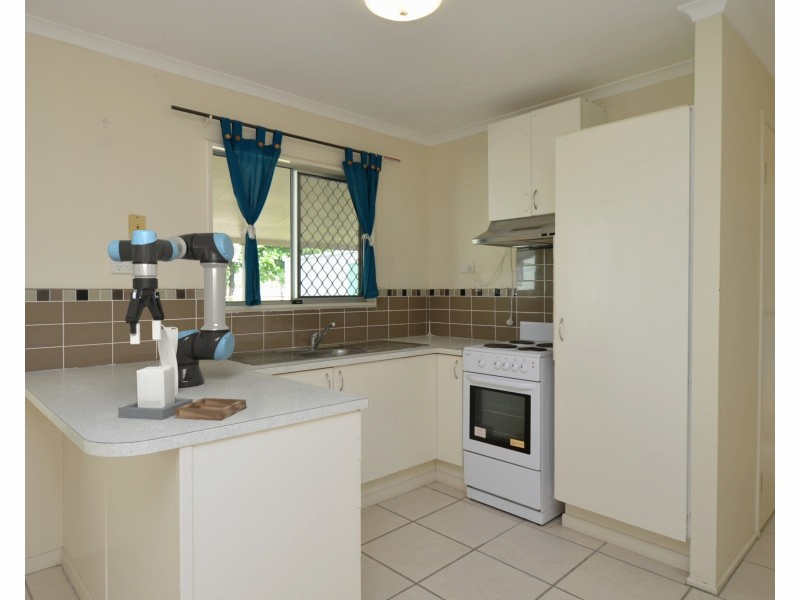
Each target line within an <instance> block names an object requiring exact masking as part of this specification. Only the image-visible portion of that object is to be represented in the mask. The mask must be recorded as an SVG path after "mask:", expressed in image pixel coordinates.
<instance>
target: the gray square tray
mask: <svg viewBox="0 0 800 600" xmlns="http://www.w3.org/2000/svg"><path fill="white" fill-rule="evenodd" d="M192 402H194V401H193V398H179V397H178V398H176V397H175V404H172V405H169V406H166V407H164V408H140V407H138V401H136V402H133V403H130V404H127V405H125V406H121V407H118V408H117V409H118V418H121V419H122V418H124V419H141V420H142V419H144V420H145V419H146V420H166V419H168V418H170V417H173V416H175V409H176V408H179V407H182V406H184V405H187V404H189V403H192Z"/></svg>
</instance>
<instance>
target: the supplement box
mask: <svg viewBox="0 0 800 600" xmlns="http://www.w3.org/2000/svg"><path fill="white" fill-rule="evenodd" d="M135 372H136V389H137V392H136V398H137V402H138V407H140V408H164V407H166V406H169V405H172V404H175V398H176V396H175V383H174V366H159V365H158V366H147V367H144V368H143V367H142V368H141V369H138V370H136V371H135Z"/></svg>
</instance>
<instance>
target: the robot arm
mask: <svg viewBox="0 0 800 600" xmlns="http://www.w3.org/2000/svg"><path fill="white" fill-rule="evenodd" d="M107 255H108V257H109V258H110V259H111V260H112V261H114V262H121V263H124V262H127V263H128V262H131V264H132V265H131V266H132V267H131V270H132V277H133V278H132V289H133V290H136V291H135V292H133V291H132V292H130V295H129V296H130V299H129V302H128V307H127V310H126V316H125V319H124V321H125V323H126V324H129V327H130V328H129V331H130V332H129V336H130V337H129V338H130V343H129V344H130V345H140V344H141V331H140V330H141V325H140V324H141V323H139V320H140V318H141V316H142V313H143V311H144V309H145V308H146V307H147V309H148V311H149V313H150V315H151V318H152V319H153V320H151V325H152V326H151V327H152V328H151V330H152V340H155V341H157V340H161V330H162V326H161V324H162V321H164V320H165V317H166V316H165V312H164V309H163V305H162V301H161V295H160V291H155V290H157V289H159V281H158V280H159V279H158V276H159V269H158V267H159V266H158V262H166V263H168V262H173V261H174V260H186V261H199V265H200V266H201V267H202V268H203V326H201V328H199V329H200V331H199V329H189V330H182V331H178V343H177V352H176V360H177V367H178V388H190V387H196V386H200V385H201V386H202V385H204V383H205V377H204V376H203V372H202V369H201V367H200V361H215V362H217V361H225V360H228V359H229V358H231V356H232V354H233V353H234V349H235V344H236V337H235V335H234V334H233V333H232V332H230V327H229V326H228V325H227V324H226V268H227V267H228V266H230V264H229V263H230V261H232V260H233V259H234V256H235V246H234V243H233V240H232V238H231V236H230V235H228V234H227V233H225V232H200V233H199V232H195V233H194V232H192V233H191V232H190V233H185V234H179V235H172V236H169V237H168V238H158V234H157V232H156V230H155V231H154V230H147V229H139V230H138V229H137V230H134V231H132V233H131V239H118V240H112V241H111V242H109V243H108V246H107Z"/></svg>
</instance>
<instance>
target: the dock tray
mask: <svg viewBox="0 0 800 600" xmlns="http://www.w3.org/2000/svg"><path fill="white" fill-rule="evenodd" d="M245 409H247V399H237V398H215V397H214V398H213V397H202V398H200V399H198V400H194V401H193V402H192V403H189V404H187V405H184V406H182V407H179V408H176V409H175V415H174V417H175V419H178V418H183V420H184V419H185V420H199V419H204V420H203V421H223V420H225V419H227V418H229V417H232V416H233V415H235V414H237V413H239V412H240V413H241V411H243V410H245Z"/></svg>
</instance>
